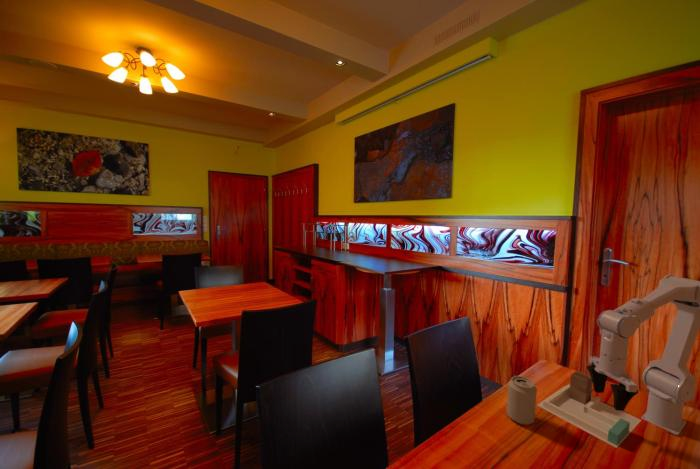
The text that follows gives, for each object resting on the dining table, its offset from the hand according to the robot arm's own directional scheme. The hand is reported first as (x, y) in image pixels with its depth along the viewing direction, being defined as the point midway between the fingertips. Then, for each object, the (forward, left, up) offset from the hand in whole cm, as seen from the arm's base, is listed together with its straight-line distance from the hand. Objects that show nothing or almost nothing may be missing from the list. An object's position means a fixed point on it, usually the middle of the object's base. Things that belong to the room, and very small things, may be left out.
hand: (608, 400), depth 88 cm
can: (+14, -17, -10) cm, 24 cm away
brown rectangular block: (-11, -11, -10) cm, 18 cm away
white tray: (-5, -7, -10) cm, 13 cm away
